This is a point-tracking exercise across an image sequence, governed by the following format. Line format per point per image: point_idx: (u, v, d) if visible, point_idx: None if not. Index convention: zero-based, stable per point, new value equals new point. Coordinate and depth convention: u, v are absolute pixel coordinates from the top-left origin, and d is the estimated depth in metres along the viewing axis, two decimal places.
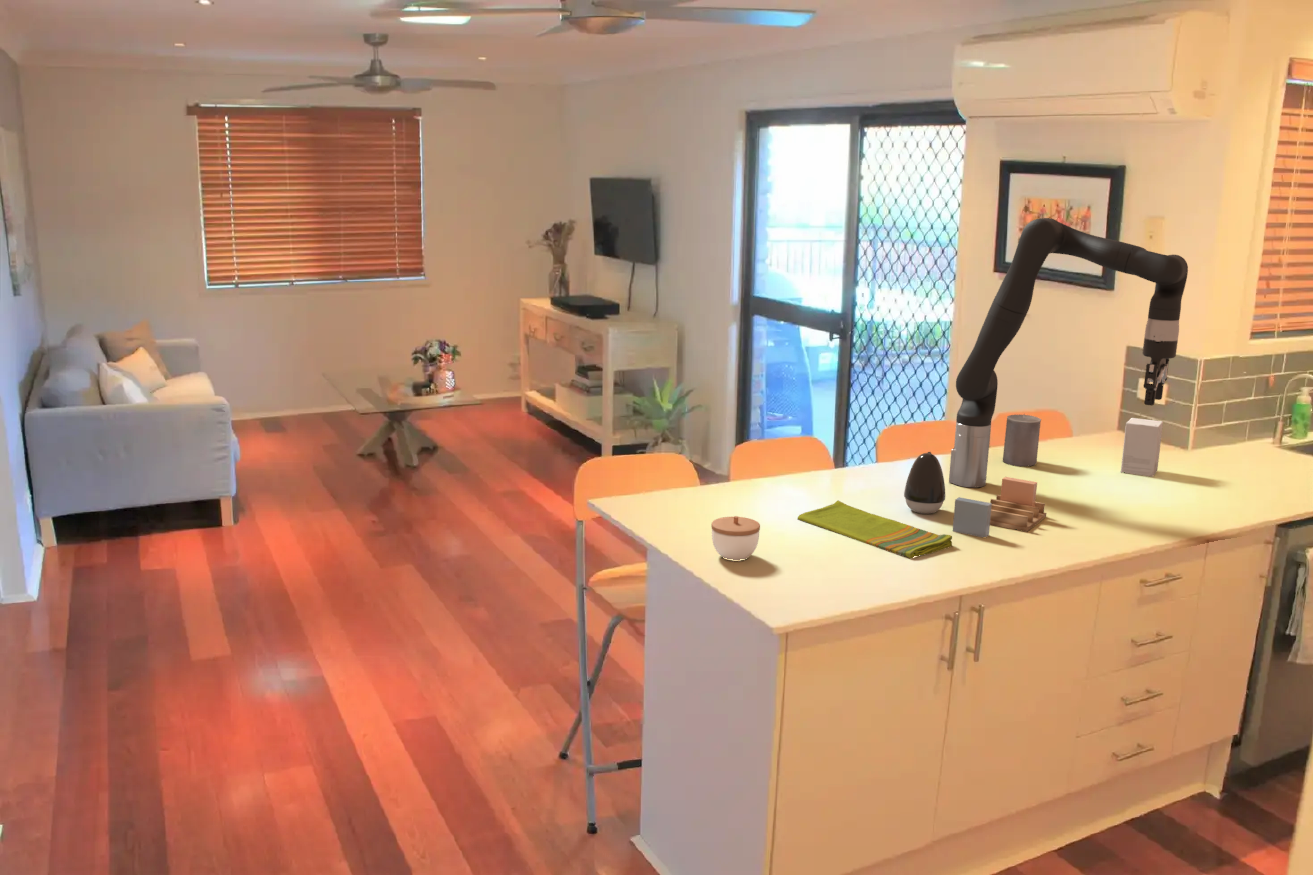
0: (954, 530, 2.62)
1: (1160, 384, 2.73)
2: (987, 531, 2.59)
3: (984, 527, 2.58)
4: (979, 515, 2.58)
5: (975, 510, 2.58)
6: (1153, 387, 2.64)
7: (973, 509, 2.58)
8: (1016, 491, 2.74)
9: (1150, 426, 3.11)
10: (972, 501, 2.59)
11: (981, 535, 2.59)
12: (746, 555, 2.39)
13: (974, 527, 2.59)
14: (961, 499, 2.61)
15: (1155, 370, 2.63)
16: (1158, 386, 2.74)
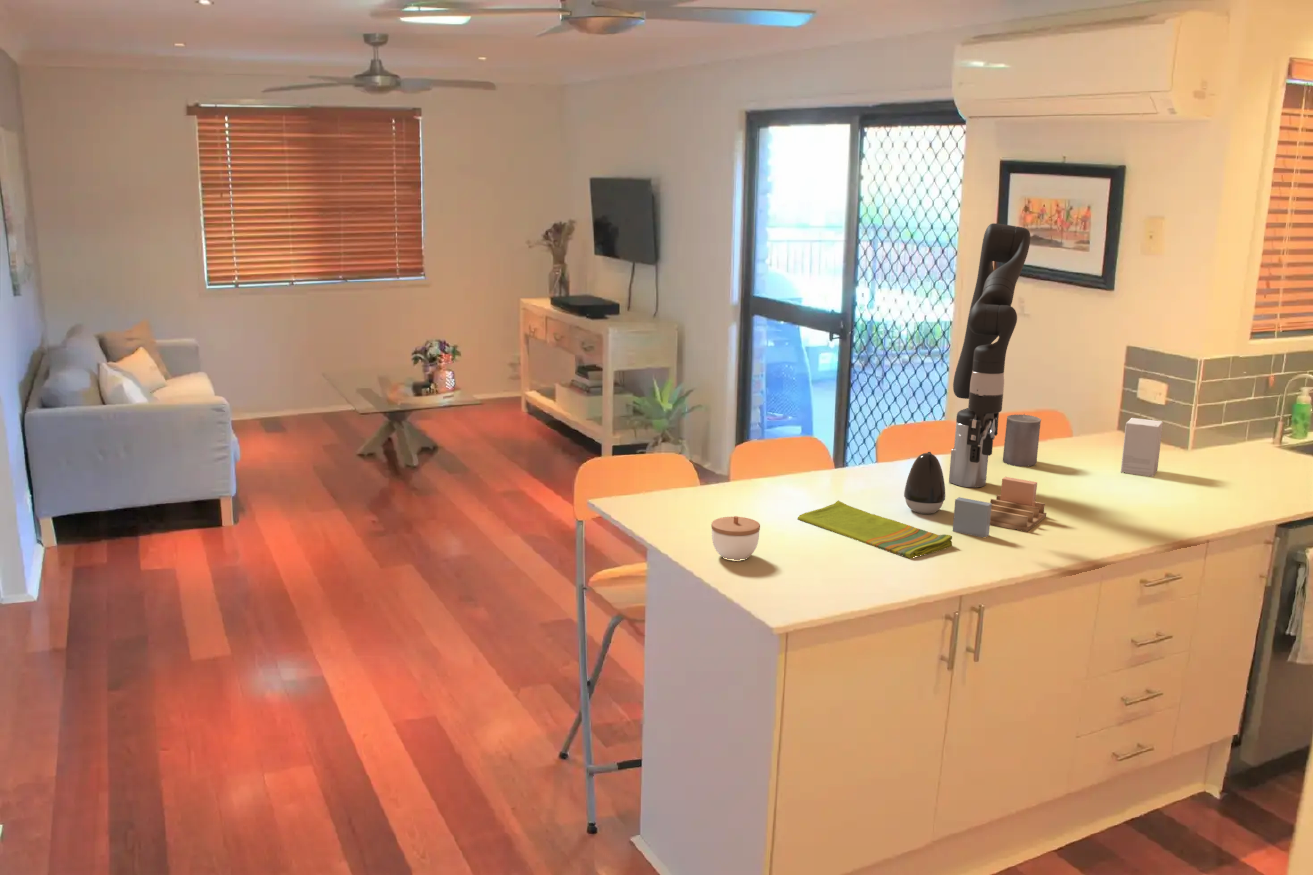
0: (954, 530, 2.62)
1: (989, 439, 2.59)
2: (987, 531, 2.59)
3: (984, 527, 2.58)
4: (979, 515, 2.58)
5: (975, 510, 2.58)
6: (976, 444, 2.50)
7: (973, 509, 2.59)
8: (1016, 491, 2.74)
9: (1150, 426, 3.11)
10: (972, 501, 2.59)
11: (981, 535, 2.59)
12: (746, 555, 2.39)
13: (974, 527, 2.59)
14: (961, 499, 2.61)
15: (977, 426, 2.49)
16: (987, 441, 2.59)
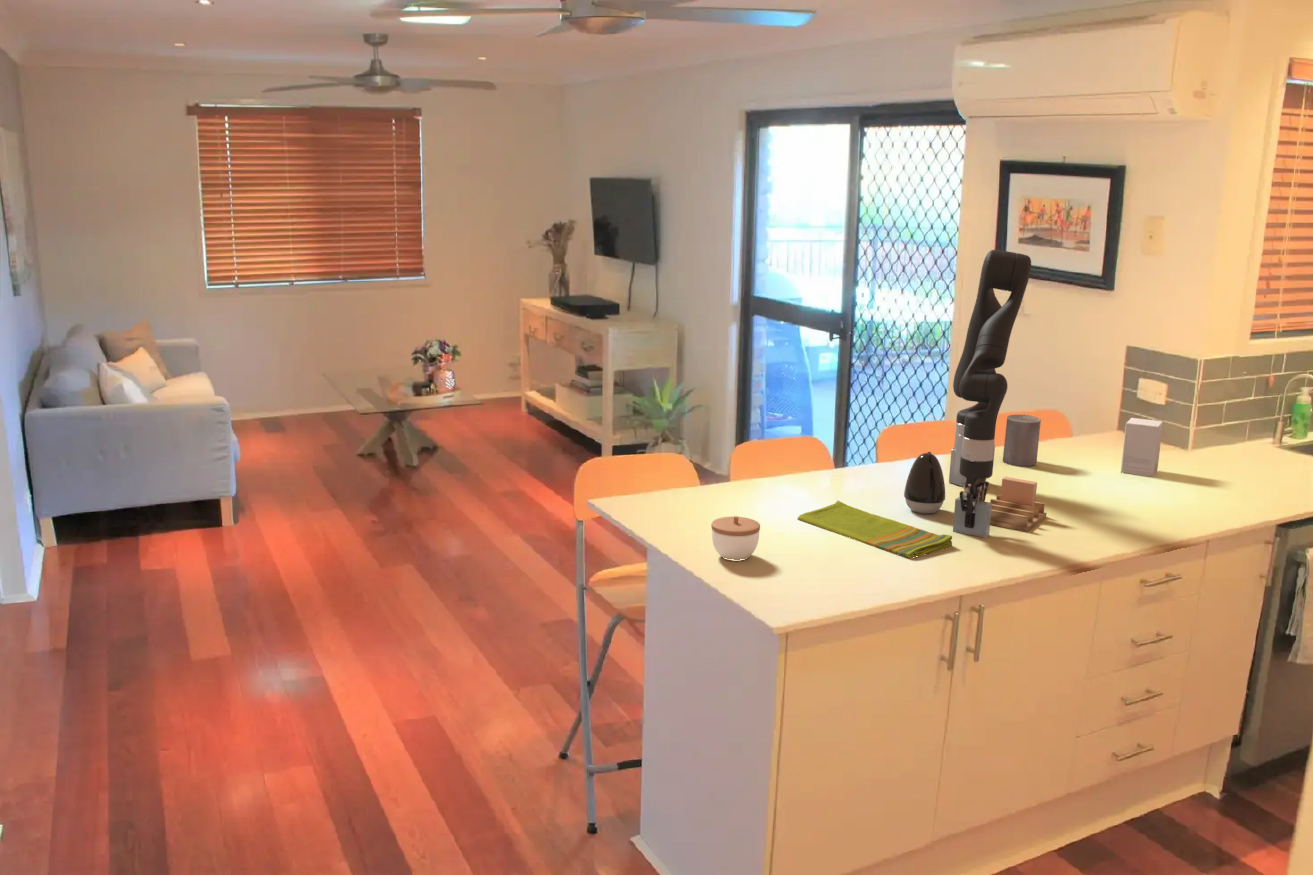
0: (954, 530, 2.62)
1: None
2: (988, 531, 2.59)
3: (985, 526, 2.58)
4: (980, 514, 2.58)
5: None
6: (971, 512, 2.56)
7: None
8: (1016, 491, 2.74)
9: (1150, 426, 3.11)
10: None
11: (981, 535, 2.58)
12: (746, 555, 2.39)
13: (975, 527, 2.59)
14: None
15: (968, 499, 2.54)
16: None
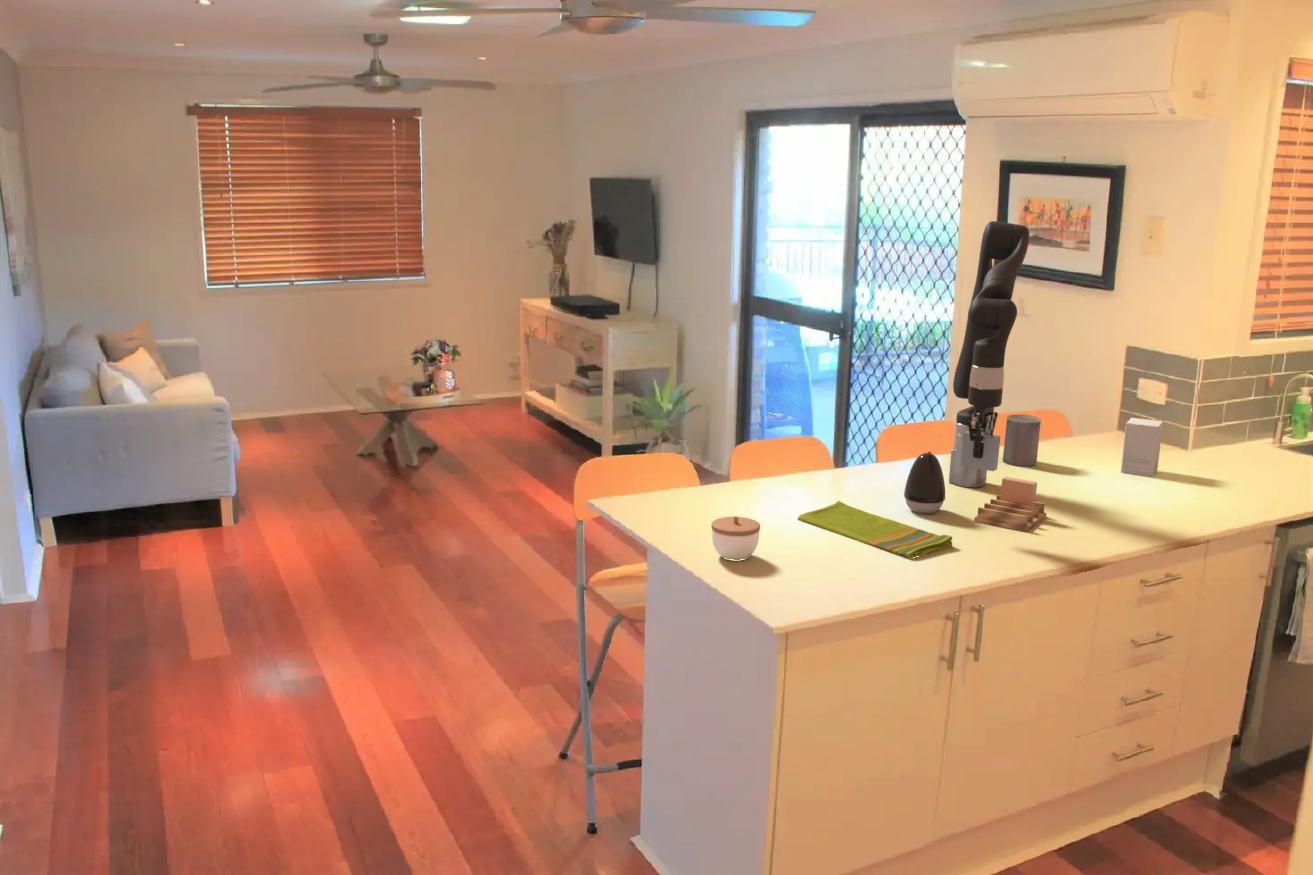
0: (962, 464, 2.60)
1: None
2: (996, 464, 2.56)
3: (993, 460, 2.55)
4: (988, 448, 2.55)
5: (984, 442, 2.55)
6: (979, 441, 2.53)
7: None
8: (1016, 491, 2.74)
9: (1150, 426, 3.11)
10: None
11: (989, 468, 2.56)
12: (746, 555, 2.39)
13: (983, 460, 2.56)
14: None
15: (977, 427, 2.51)
16: None
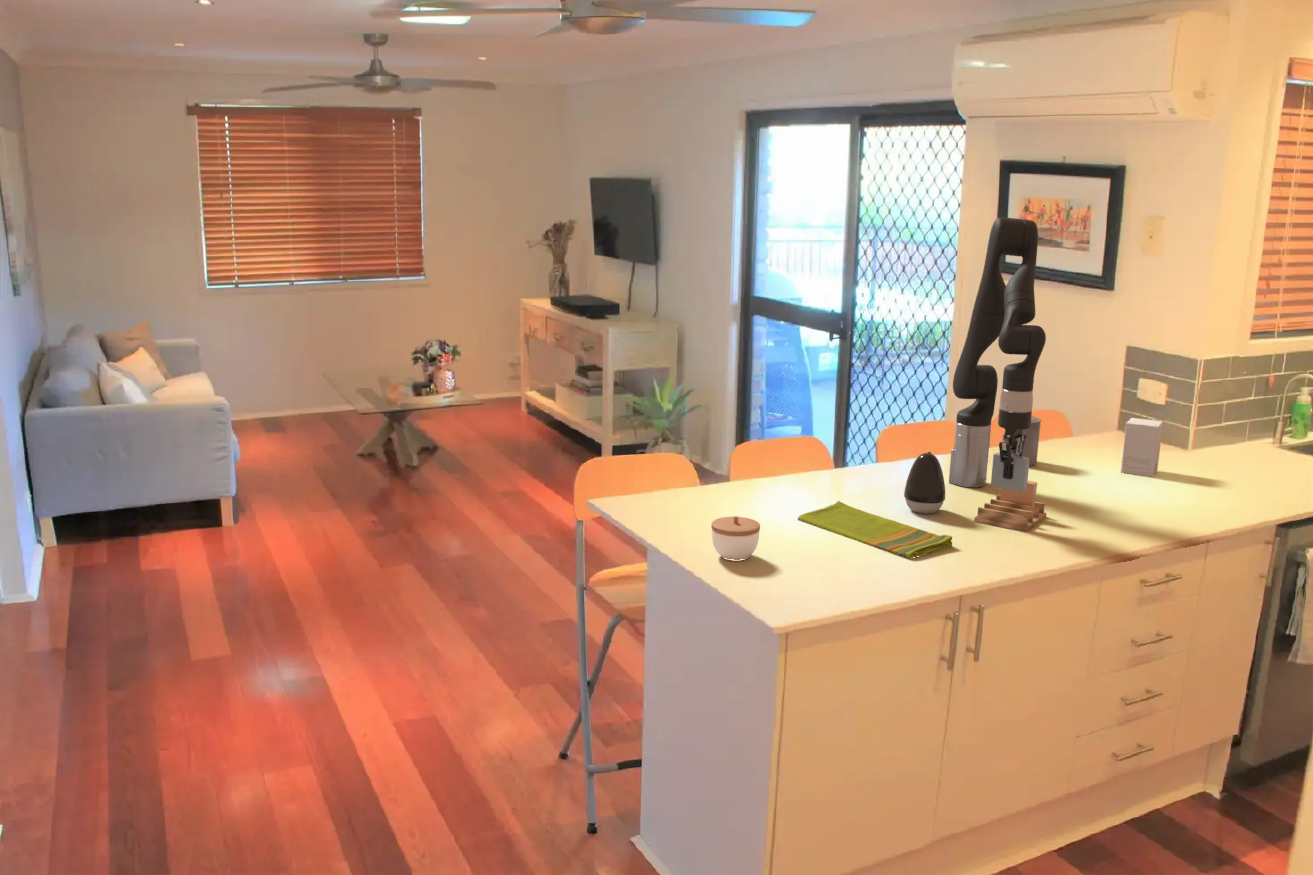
0: (992, 485, 2.68)
1: None
2: (1025, 485, 2.64)
3: (1023, 480, 2.63)
4: (1018, 469, 2.63)
5: (1014, 464, 2.64)
6: (1009, 462, 2.61)
7: None
8: (1016, 491, 2.74)
9: (1150, 426, 3.11)
10: None
11: (1019, 489, 2.64)
12: (746, 555, 2.39)
13: (1012, 481, 2.65)
14: (999, 454, 2.66)
15: (1008, 449, 2.59)
16: None
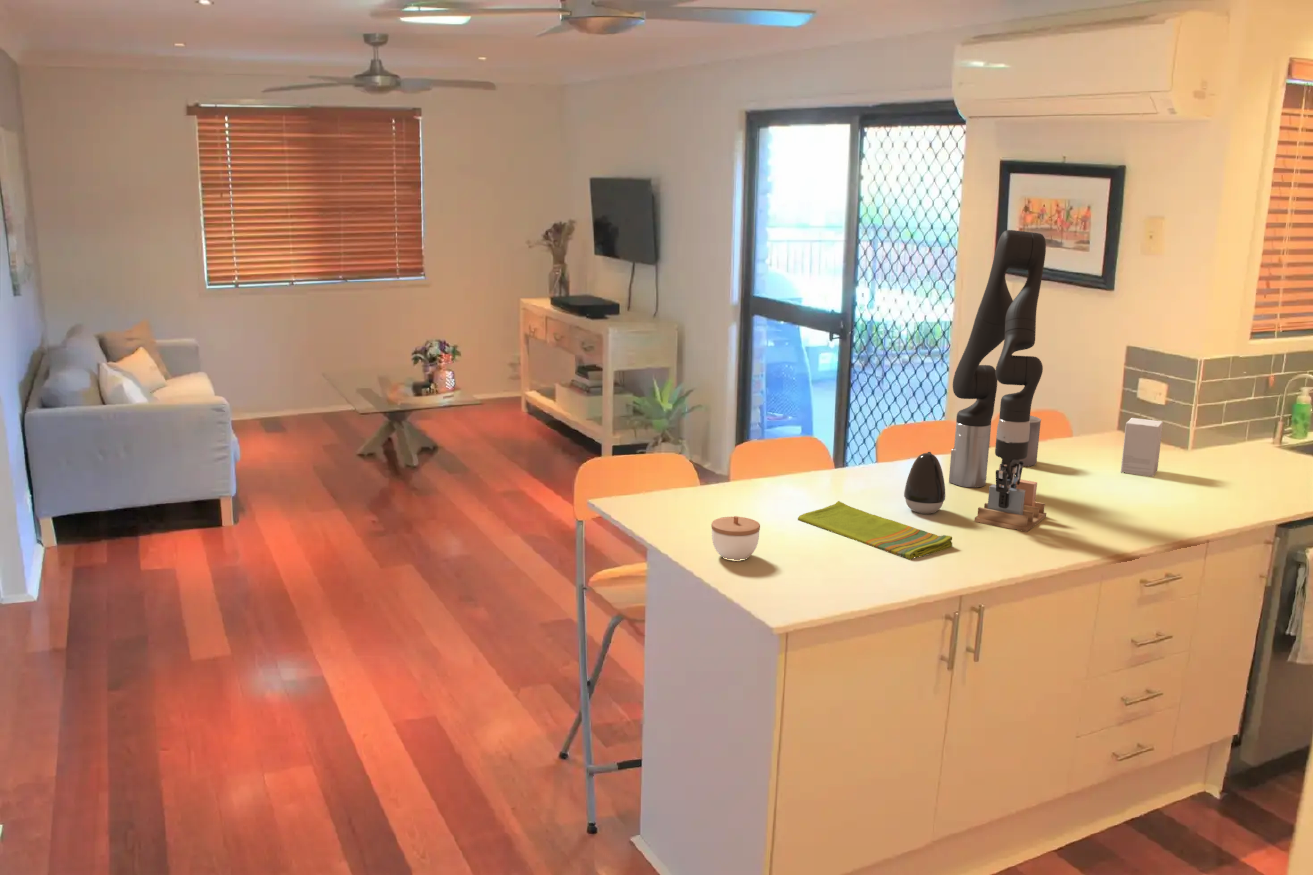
0: None
1: None
2: None
3: (1018, 513, 2.65)
4: (1013, 501, 2.65)
5: (1009, 496, 2.66)
6: (1005, 492, 2.62)
7: None
8: None
9: (1150, 426, 3.11)
10: None
11: None
12: (746, 555, 2.39)
13: None
14: (995, 486, 2.68)
15: (1004, 477, 2.60)
16: None
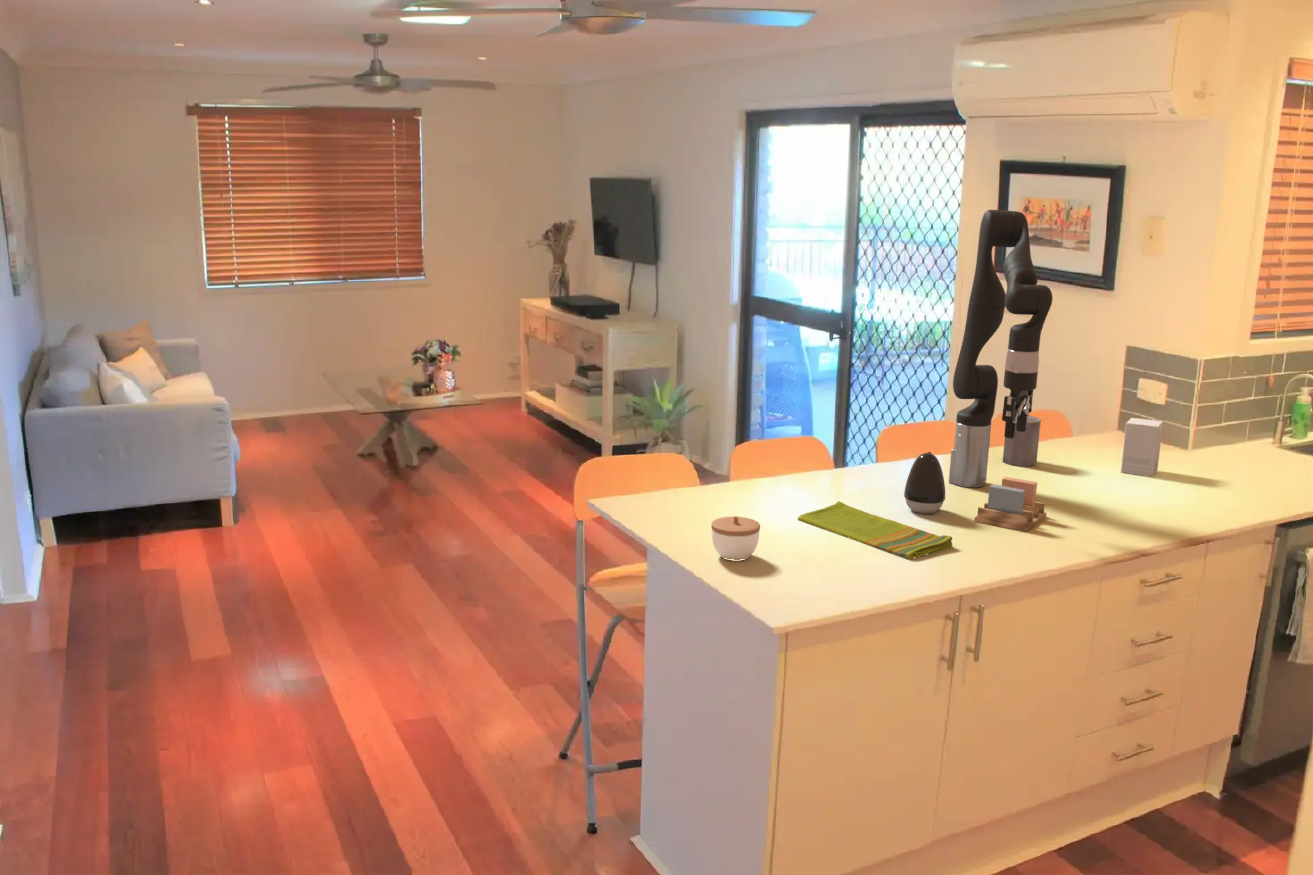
0: None
1: (1024, 416, 2.66)
2: None
3: (1018, 513, 2.65)
4: (1013, 501, 2.65)
5: (1009, 496, 2.66)
6: (1011, 420, 2.57)
7: (1007, 496, 2.66)
8: None
9: (1150, 426, 3.11)
10: (1006, 488, 2.67)
11: None
12: (746, 555, 2.39)
13: None
14: (995, 486, 2.68)
15: (1013, 403, 2.56)
16: (1022, 418, 2.67)
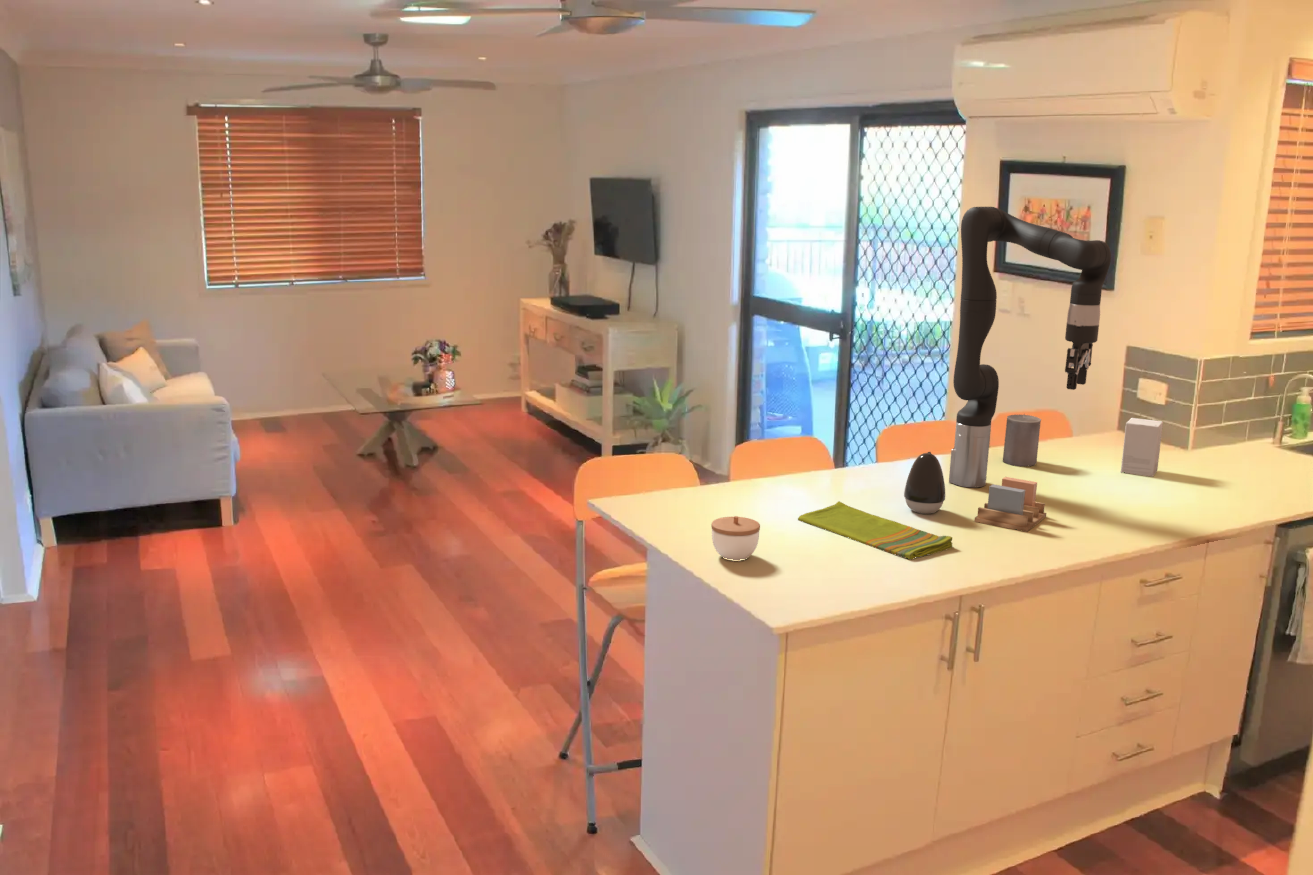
0: None
1: (1084, 369, 2.76)
2: None
3: (1018, 513, 2.65)
4: (1013, 501, 2.65)
5: (1009, 496, 2.66)
6: (1074, 371, 2.67)
7: (1007, 496, 2.66)
8: None
9: (1150, 426, 3.11)
10: (1006, 488, 2.67)
11: None
12: (746, 555, 2.39)
13: None
14: (995, 486, 2.68)
15: (1076, 354, 2.66)
16: (1082, 371, 2.76)
